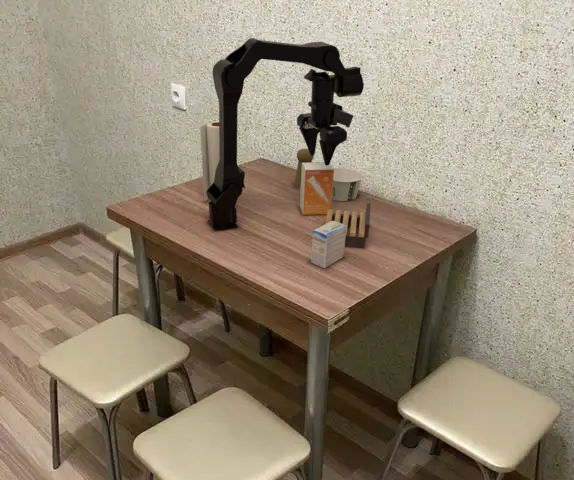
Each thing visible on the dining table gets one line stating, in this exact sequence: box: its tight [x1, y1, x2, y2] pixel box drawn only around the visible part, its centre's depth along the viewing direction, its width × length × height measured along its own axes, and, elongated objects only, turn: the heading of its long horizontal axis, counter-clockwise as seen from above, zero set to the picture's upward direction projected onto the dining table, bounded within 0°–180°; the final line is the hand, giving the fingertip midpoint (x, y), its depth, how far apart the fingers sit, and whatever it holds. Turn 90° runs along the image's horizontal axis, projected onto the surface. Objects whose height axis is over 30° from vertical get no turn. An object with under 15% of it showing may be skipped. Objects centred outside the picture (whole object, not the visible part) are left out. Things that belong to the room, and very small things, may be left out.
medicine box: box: [310, 221, 348, 269], centre depth 138 cm, size 8×4×9 cm, turn 141°
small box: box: [299, 161, 334, 216], centre depth 161 cm, size 8×6×13 cm
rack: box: [324, 203, 372, 249], centre depth 150 cm, size 11×14×6 cm
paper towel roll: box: [199, 121, 219, 202], centre depth 164 cm, size 7×6×21 cm
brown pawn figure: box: [294, 148, 315, 189], centre depth 178 cm, size 6×6×11 cm
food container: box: [332, 167, 364, 202], centre depth 173 cm, size 12×12×6 cm
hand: (319, 160), depth 156 cm, fingers open, 9 cm apart
